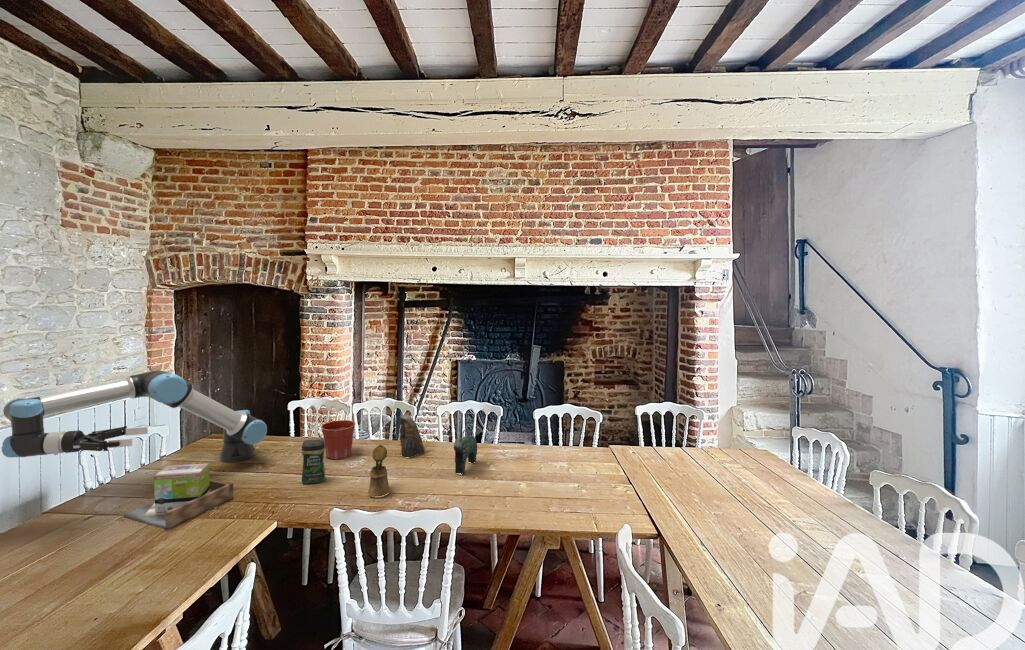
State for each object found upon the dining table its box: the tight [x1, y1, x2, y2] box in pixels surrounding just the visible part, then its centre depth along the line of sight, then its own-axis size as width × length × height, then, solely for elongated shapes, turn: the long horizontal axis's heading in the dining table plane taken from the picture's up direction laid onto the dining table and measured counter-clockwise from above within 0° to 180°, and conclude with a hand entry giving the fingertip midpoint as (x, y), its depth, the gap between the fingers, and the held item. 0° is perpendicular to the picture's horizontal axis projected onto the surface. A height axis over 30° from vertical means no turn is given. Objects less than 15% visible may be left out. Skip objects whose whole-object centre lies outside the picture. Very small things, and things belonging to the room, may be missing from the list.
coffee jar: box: [301, 438, 326, 485], centre depth 196 cm, size 10×8×19 cm
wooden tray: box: [123, 478, 234, 530], centre depth 172 cm, size 25×24×6 cm
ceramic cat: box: [453, 428, 478, 474], centre depth 213 cm, size 20×6×20 cm, turn 161°
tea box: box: [153, 462, 211, 513], centre depth 171 cm, size 15×10×15 cm
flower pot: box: [320, 419, 356, 460], centre depth 226 cm, size 16×16×16 cm
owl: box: [398, 412, 425, 458], centre depth 231 cm, size 13×13×20 cm
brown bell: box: [367, 444, 391, 497], centre depth 188 cm, size 9×14×18 cm, turn 13°
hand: (139, 435), depth 165 cm, fingers open, 13 cm apart
